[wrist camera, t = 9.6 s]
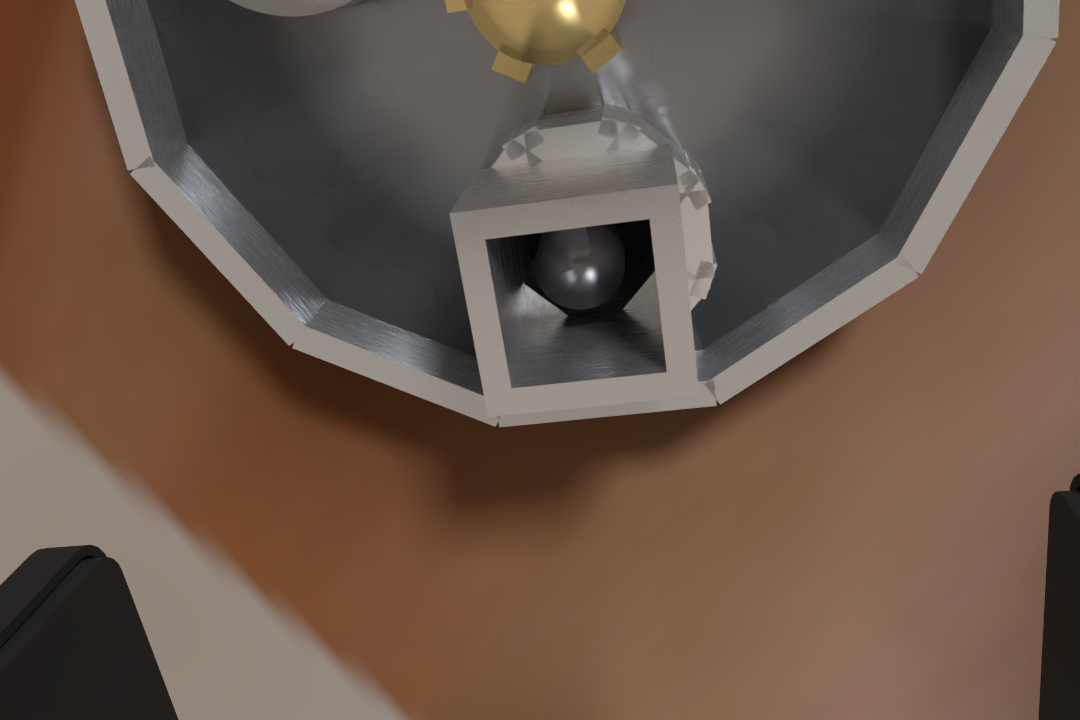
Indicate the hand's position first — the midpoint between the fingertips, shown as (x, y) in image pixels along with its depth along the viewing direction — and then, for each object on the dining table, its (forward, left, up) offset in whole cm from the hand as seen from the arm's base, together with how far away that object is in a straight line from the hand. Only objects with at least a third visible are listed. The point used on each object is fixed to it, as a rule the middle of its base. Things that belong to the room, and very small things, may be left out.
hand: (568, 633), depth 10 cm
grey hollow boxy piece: (0, 0, -17) cm, 16 cm away
